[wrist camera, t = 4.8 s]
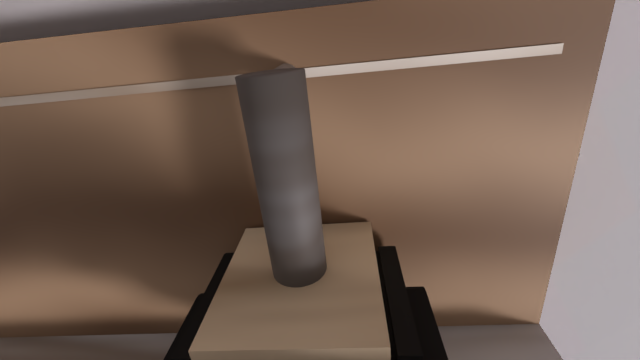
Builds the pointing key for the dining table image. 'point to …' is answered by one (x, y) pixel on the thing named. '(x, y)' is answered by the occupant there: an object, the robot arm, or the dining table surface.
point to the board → (330, 158)
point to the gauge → (293, 250)
